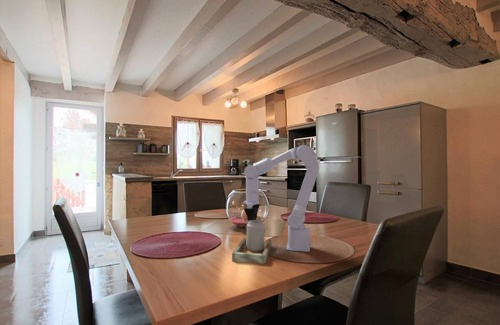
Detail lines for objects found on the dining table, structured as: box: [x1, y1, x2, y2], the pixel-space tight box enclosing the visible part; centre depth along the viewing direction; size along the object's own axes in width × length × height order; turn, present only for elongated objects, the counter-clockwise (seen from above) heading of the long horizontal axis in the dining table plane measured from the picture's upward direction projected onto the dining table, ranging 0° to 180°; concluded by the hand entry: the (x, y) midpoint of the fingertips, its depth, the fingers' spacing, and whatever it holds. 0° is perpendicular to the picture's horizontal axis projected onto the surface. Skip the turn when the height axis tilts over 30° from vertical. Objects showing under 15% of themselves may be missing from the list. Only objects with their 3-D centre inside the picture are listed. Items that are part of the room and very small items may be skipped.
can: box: [246, 219, 265, 253], centre depth 112 cm, size 8×8×12 cm
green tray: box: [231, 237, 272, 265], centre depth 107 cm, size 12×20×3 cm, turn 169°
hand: (252, 221), depth 120 cm, fingers open, 7 cm apart
